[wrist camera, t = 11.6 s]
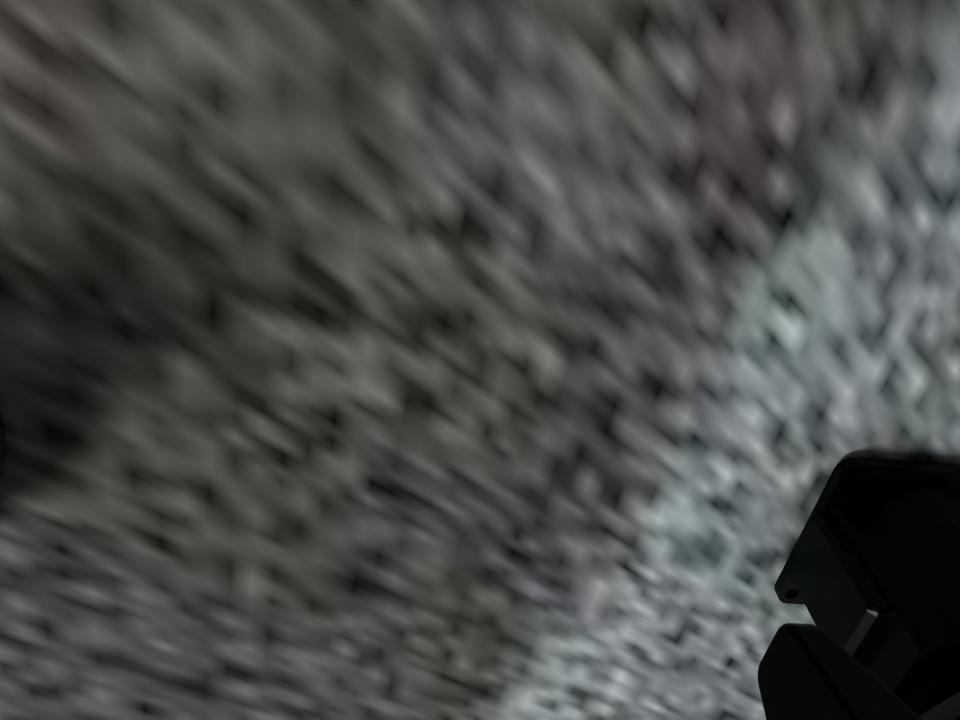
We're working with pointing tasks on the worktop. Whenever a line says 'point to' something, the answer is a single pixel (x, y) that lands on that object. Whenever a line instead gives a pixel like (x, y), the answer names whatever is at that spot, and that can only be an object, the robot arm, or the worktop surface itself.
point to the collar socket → (2, 445)
